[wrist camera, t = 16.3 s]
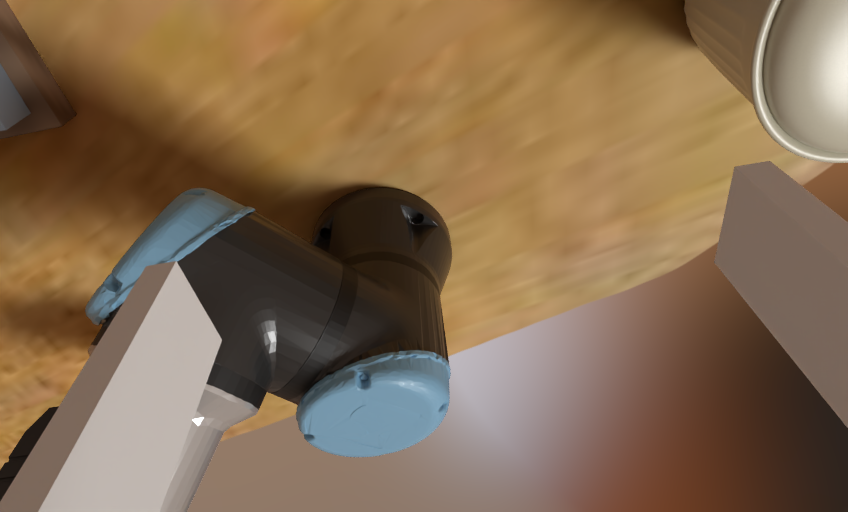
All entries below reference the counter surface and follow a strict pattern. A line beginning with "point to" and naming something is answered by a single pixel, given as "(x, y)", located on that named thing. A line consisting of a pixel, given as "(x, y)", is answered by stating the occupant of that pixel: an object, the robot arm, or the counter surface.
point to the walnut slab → (30, 79)
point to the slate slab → (10, 103)
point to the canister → (783, 66)
